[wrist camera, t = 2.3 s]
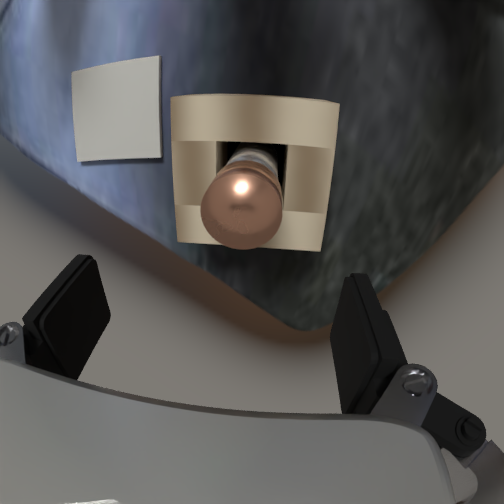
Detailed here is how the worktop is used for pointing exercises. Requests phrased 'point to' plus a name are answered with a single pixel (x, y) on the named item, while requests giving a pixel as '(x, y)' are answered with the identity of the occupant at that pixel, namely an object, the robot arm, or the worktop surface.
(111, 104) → the white square plate
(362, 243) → the worktop surface
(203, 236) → the birch eye block
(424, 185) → the worktop surface
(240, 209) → the copper capped bottle
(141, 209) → the worktop surface
